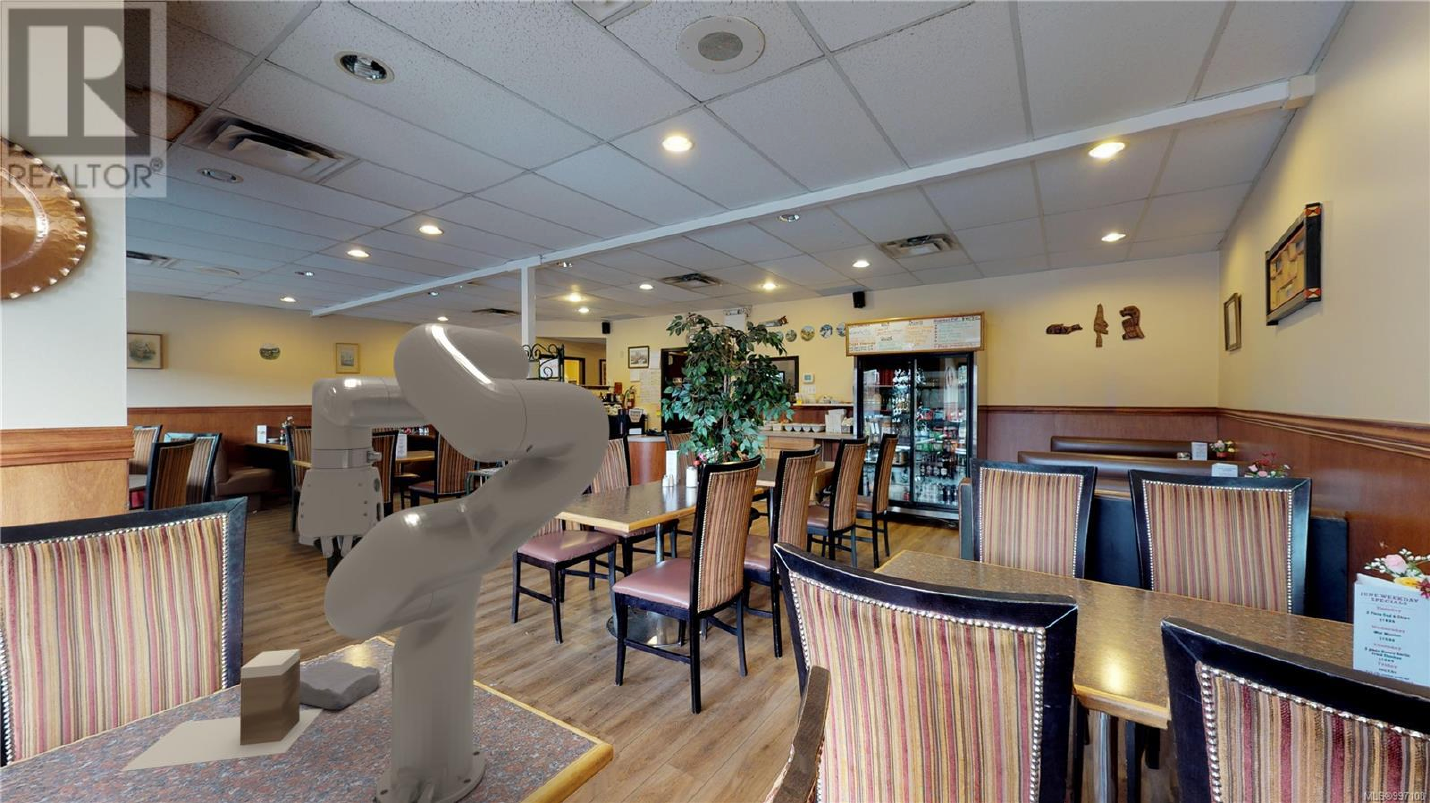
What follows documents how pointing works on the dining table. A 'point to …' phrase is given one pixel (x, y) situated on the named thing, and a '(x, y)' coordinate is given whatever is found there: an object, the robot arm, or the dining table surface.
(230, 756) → the beige mat
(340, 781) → the dining table surface
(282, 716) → the walnut block
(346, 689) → the stone block
